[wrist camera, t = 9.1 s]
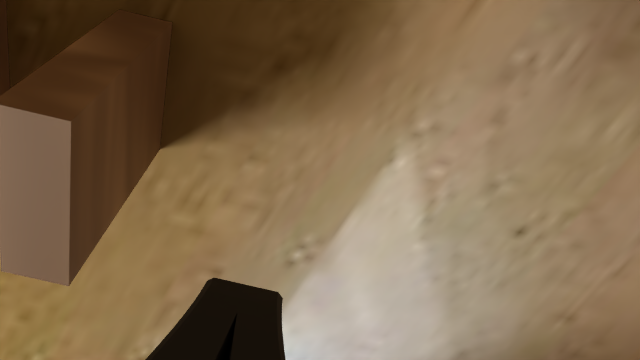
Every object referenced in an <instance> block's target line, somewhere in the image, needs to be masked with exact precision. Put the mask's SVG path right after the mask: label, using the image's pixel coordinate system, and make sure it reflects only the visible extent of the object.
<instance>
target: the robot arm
mask: <svg viewBox="0 0 640 360" xmlns="http://www.w3.org/2000/svg"><path fill="white" fill-rule="evenodd" d="M282 300H283V298H282V297H281V295H280V294H279V293H278V292H275V291H271V290H266V289H262V288H257V287H253V286H249V285H244V284H240V283H235V282H231V281H227V280H222V279H218V278H212V279H210V280H208V281H207V282H206V284H205V285H204V287H203V289H202V290H201V292H200V293H199V295H198V296H197V298H196V299H195V301H194V302H193V304H192V305H191V306H190V308H189V309H188V310H187V312H186V313H185V314H184V315H183V317H182V318H181V319H180V320H179V322H178V323H177V324H176V325H175V327H174V328H173V329H172V330H171V331H170V332H169V334H168V335H167V336H166V337H165V338H164V339H163V340H162V342H161V343H160V344H159V345H158V346H157V347H156V348H155V350H154V351H153V352H152V353H151V354H150V355H149V356H148V357H147V358H146V360H285V353H284V344H283V334H282Z"/></svg>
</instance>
